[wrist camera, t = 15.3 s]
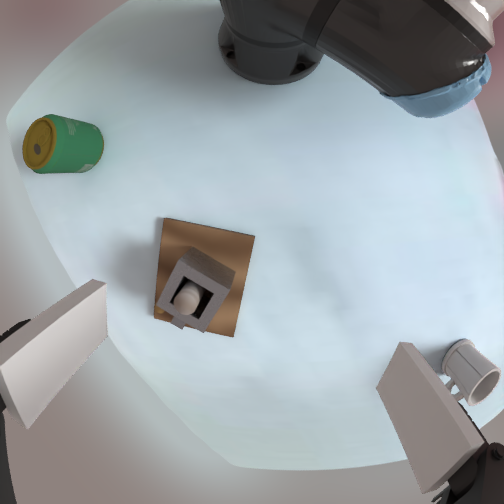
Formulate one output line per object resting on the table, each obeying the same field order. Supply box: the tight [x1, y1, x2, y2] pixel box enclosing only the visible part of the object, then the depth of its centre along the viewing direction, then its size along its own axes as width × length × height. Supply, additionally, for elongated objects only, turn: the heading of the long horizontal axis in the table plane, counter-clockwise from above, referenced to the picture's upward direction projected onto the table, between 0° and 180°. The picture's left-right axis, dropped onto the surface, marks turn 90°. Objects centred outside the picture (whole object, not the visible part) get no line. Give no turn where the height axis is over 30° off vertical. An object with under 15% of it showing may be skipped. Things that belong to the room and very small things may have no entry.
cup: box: [442, 339, 501, 406], centre depth 38 cm, size 10×9×12 cm
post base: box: [154, 218, 255, 337], centre depth 37 cm, size 16×13×9 cm
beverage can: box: [23, 114, 104, 174], centre depth 31 cm, size 8×8×12 cm
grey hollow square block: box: [156, 247, 236, 333], centre depth 37 cm, size 11×7×7 cm, turn 149°
